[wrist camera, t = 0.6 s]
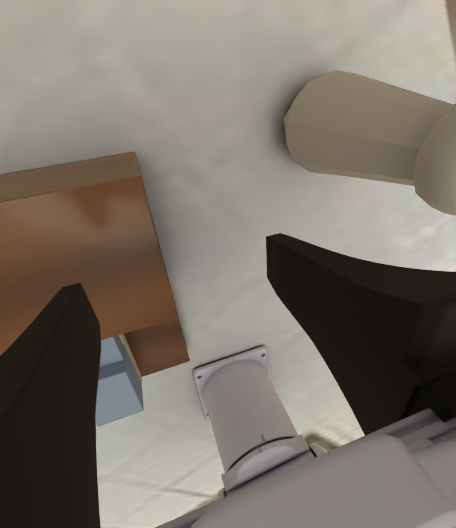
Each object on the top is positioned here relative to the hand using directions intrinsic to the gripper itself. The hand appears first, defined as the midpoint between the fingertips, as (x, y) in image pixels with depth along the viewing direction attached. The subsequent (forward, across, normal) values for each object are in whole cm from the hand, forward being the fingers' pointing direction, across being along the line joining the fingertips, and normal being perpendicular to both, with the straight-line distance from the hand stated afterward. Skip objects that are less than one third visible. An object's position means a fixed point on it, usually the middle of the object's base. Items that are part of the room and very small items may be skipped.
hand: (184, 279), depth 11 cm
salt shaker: (+10, -11, -3) cm, 16 cm away
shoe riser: (+10, +7, +6) cm, 13 cm away
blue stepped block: (+8, +6, +11) cm, 15 cm away
